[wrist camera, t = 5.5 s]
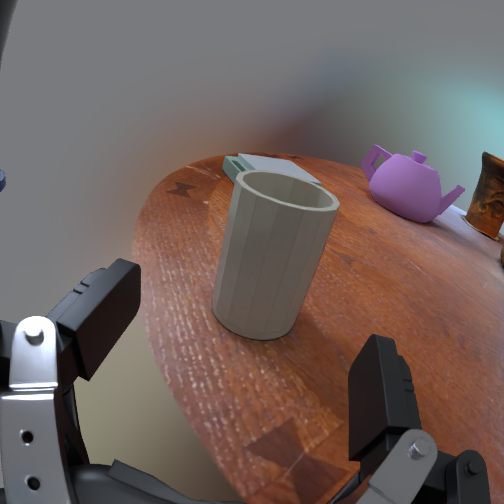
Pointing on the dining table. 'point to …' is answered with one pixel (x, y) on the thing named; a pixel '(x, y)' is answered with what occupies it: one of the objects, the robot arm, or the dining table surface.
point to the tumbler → (270, 252)
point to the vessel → (488, 198)
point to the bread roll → (502, 256)
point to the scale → (263, 167)
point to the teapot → (407, 185)
